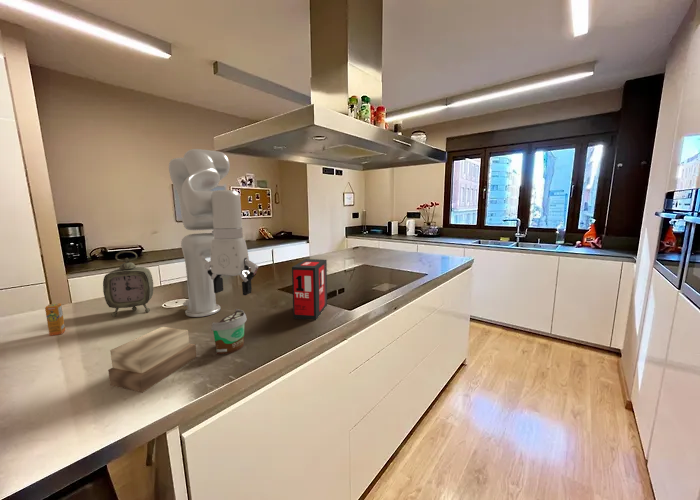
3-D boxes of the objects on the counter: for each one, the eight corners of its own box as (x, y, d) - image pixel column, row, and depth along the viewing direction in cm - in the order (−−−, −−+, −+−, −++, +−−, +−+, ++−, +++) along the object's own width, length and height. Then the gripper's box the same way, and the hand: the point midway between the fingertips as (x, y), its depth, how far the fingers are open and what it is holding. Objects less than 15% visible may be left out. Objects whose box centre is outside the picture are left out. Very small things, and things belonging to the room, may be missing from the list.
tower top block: (112, 367, 69) (110, 350, 69) (163, 341, 83) (161, 326, 82) (142, 373, 67) (139, 355, 66) (189, 345, 80) (188, 330, 80)
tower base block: (110, 387, 69) (108, 369, 69) (168, 354, 84) (167, 339, 84) (142, 394, 66) (140, 376, 66) (196, 359, 82) (195, 344, 81)
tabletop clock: (107, 318, 110) (98, 253, 106) (114, 311, 118) (106, 250, 114) (152, 313, 115) (145, 251, 112) (156, 305, 124) (150, 248, 120)
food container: (232, 359, 81) (230, 325, 79) (213, 356, 82) (210, 323, 81) (255, 339, 93) (254, 309, 91) (238, 337, 94) (236, 308, 92)
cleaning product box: (307, 304, 126) (306, 259, 123) (327, 305, 124) (326, 259, 121) (293, 318, 110) (291, 267, 107) (316, 320, 108) (315, 268, 105)
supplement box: (48, 336, 95) (43, 307, 93) (53, 332, 98) (48, 304, 96) (62, 334, 96) (57, 305, 95) (66, 330, 99) (61, 302, 98)
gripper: (193, 235, 81) (198, 294, 83) (246, 236, 76) (250, 298, 79) (212, 233, 88) (217, 287, 90) (262, 233, 83) (266, 291, 86)
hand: (232, 293), depth 84 cm, fingers open, 9 cm apart
